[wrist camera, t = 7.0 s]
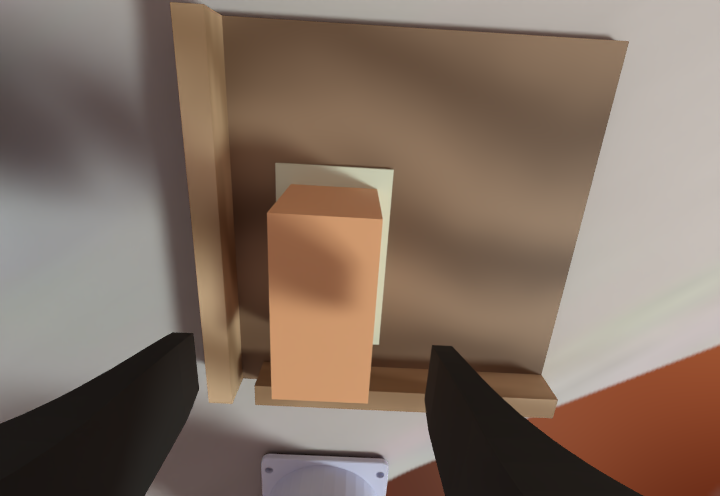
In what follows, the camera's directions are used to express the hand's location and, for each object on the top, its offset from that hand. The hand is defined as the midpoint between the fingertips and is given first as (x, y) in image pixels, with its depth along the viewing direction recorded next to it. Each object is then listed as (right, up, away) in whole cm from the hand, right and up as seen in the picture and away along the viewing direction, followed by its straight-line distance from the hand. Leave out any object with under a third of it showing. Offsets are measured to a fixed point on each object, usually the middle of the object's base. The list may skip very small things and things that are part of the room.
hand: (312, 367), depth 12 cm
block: (0, +3, +8) cm, 8 cm away
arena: (+3, +4, +8) cm, 10 cm away
